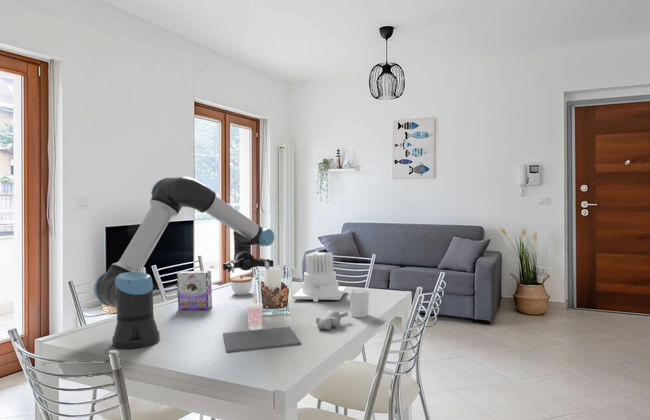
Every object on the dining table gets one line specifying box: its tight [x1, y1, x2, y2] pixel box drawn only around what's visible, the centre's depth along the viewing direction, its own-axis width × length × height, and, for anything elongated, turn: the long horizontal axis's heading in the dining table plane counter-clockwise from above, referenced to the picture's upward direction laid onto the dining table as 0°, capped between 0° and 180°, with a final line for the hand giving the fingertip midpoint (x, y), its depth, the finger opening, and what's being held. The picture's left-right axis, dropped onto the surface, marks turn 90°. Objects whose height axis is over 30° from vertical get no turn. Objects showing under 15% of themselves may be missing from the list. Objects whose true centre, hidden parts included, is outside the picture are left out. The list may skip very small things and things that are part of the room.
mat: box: [222, 326, 302, 354], centre depth 162 cm, size 20×24×1 cm
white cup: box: [349, 288, 370, 319], centre depth 190 cm, size 8×8×10 cm
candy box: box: [176, 270, 213, 311], centre depth 209 cm, size 14×6×16 cm, turn 84°
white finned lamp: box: [292, 251, 347, 303], centre depth 226 cm, size 25×22×21 cm
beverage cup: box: [246, 290, 264, 331], centre depth 175 cm, size 6×6×14 cm
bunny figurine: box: [315, 310, 349, 331], centre depth 176 cm, size 10×5×15 cm
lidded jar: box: [230, 274, 253, 296], centre depth 238 cm, size 11×11×9 cm
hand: (250, 267), depth 184 cm, fingers open, 13 cm apart
